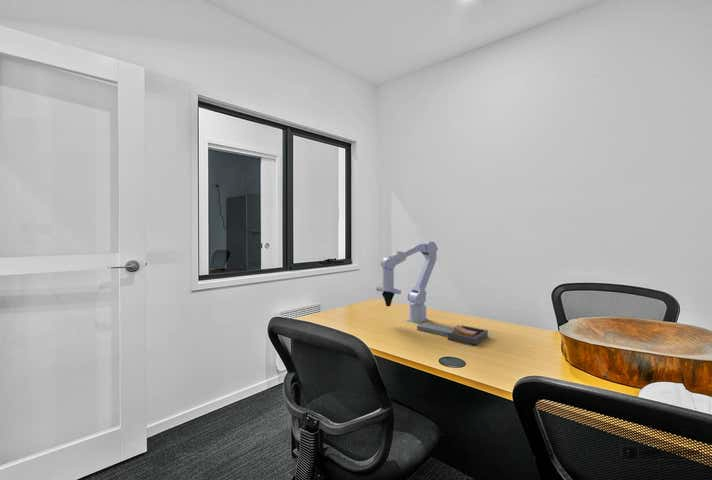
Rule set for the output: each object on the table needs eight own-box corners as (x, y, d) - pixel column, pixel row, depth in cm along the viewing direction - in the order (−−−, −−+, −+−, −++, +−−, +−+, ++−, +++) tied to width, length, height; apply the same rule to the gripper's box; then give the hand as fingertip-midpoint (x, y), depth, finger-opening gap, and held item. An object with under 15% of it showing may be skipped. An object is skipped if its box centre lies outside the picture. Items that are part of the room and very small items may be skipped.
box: (461, 331, 159) (461, 325, 159) (487, 336, 151) (487, 330, 151) (447, 339, 148) (447, 332, 148) (475, 345, 140) (475, 338, 140)
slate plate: (425, 326, 169) (425, 322, 169) (458, 333, 157) (458, 329, 157) (417, 329, 163) (417, 325, 163) (451, 337, 151) (451, 333, 151)
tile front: (467, 335, 152) (467, 329, 152) (476, 337, 149) (476, 331, 149) (463, 337, 149) (463, 332, 149) (472, 339, 146) (472, 334, 146)
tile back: (456, 329, 156) (458, 325, 155) (465, 334, 153) (467, 329, 152) (452, 332, 152) (454, 327, 152) (461, 336, 149) (463, 332, 149)
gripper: (372, 280, 175) (372, 305, 175) (395, 282, 165) (395, 309, 165) (380, 278, 180) (380, 303, 180) (403, 281, 170) (403, 307, 171)
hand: (388, 306), depth 173 cm, fingers closed
